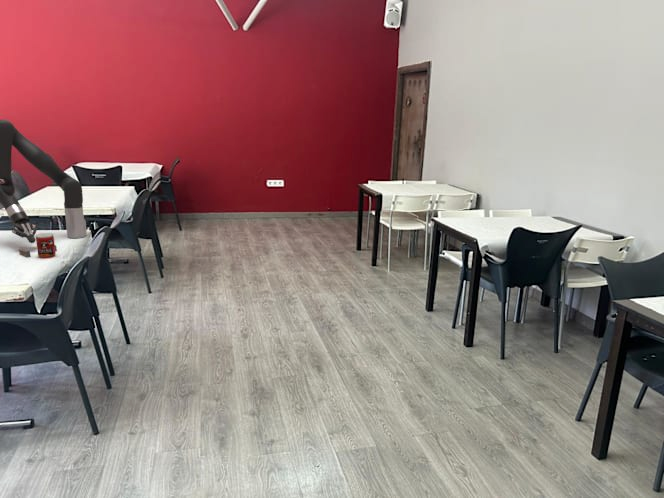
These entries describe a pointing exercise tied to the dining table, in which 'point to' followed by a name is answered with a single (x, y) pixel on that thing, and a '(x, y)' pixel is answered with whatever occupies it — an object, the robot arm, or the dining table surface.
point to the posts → (27, 253)
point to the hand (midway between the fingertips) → (33, 242)
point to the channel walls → (22, 252)
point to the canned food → (45, 245)
